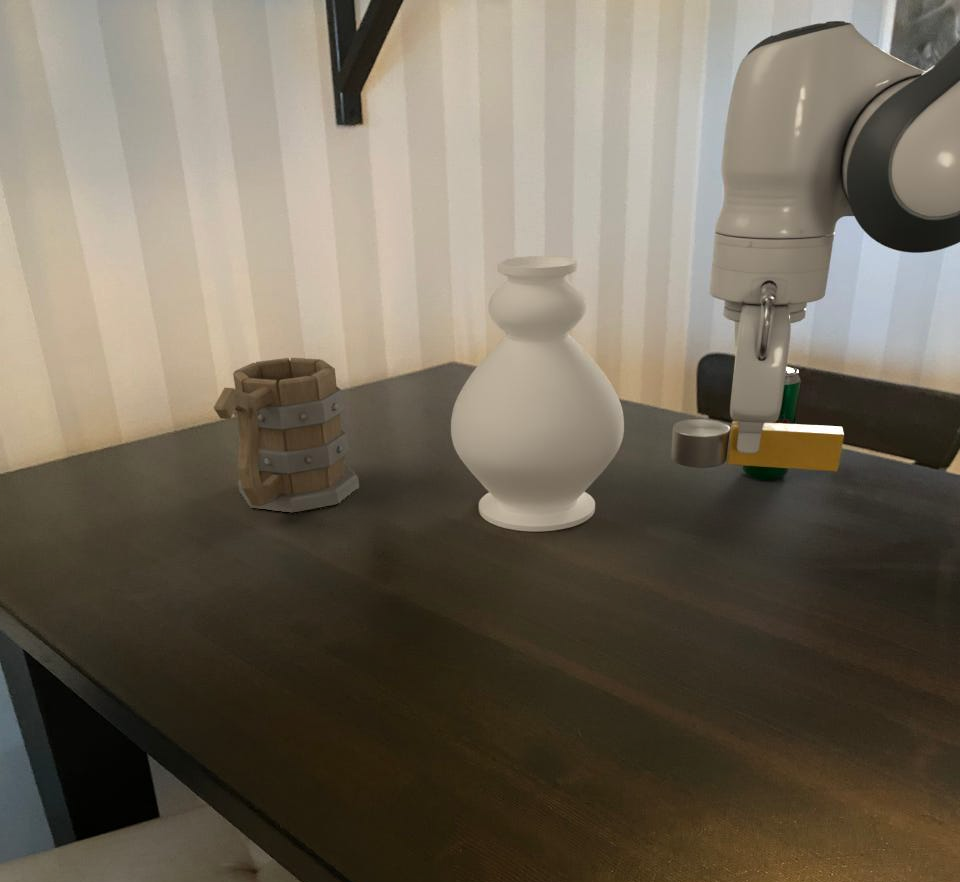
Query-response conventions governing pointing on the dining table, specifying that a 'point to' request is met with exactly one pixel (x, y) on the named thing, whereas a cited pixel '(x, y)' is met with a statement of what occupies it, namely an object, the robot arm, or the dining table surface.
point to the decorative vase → (537, 405)
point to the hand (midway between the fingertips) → (747, 443)
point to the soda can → (785, 417)
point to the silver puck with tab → (778, 446)
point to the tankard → (289, 434)
